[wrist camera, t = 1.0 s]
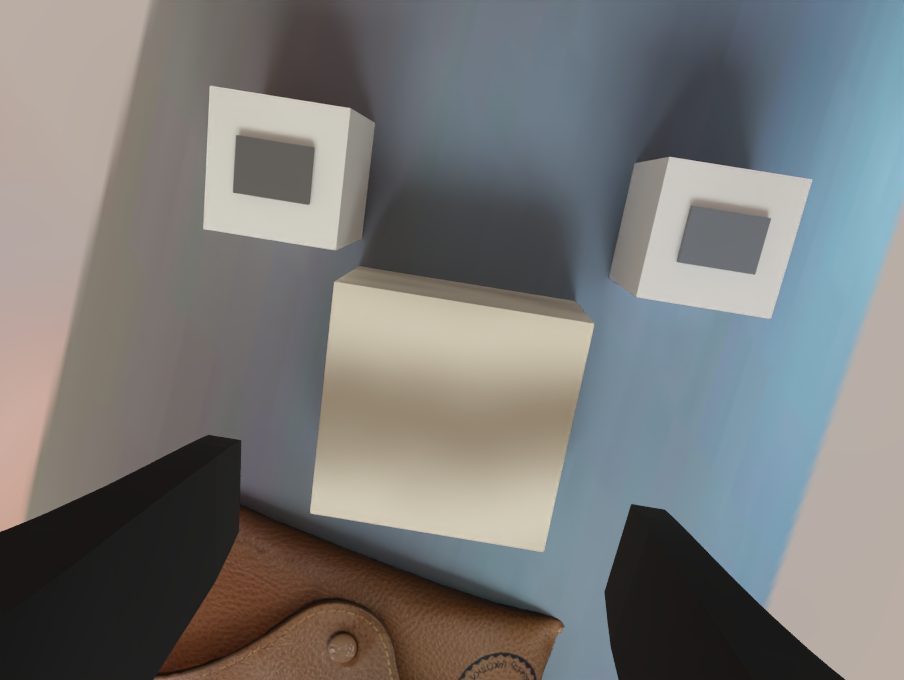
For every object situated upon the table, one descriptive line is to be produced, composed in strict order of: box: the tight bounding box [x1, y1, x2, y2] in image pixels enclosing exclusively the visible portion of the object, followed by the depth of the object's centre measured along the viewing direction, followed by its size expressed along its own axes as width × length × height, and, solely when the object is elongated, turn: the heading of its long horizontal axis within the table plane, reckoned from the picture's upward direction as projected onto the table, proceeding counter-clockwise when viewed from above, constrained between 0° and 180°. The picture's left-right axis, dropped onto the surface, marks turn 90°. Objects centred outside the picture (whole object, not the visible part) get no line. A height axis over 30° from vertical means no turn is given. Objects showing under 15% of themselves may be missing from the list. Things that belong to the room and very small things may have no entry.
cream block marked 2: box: [203, 86, 375, 250], centre depth 19 cm, size 4×4×4 cm
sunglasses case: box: [153, 505, 564, 680], centre depth 24 cm, size 18×7×7 cm
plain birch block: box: [310, 266, 594, 552], centre depth 21 cm, size 8×8×4 cm
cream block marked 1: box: [609, 157, 812, 319], centre depth 19 cm, size 4×4×4 cm
